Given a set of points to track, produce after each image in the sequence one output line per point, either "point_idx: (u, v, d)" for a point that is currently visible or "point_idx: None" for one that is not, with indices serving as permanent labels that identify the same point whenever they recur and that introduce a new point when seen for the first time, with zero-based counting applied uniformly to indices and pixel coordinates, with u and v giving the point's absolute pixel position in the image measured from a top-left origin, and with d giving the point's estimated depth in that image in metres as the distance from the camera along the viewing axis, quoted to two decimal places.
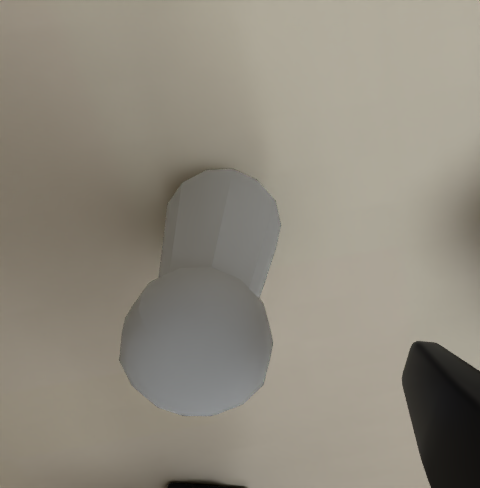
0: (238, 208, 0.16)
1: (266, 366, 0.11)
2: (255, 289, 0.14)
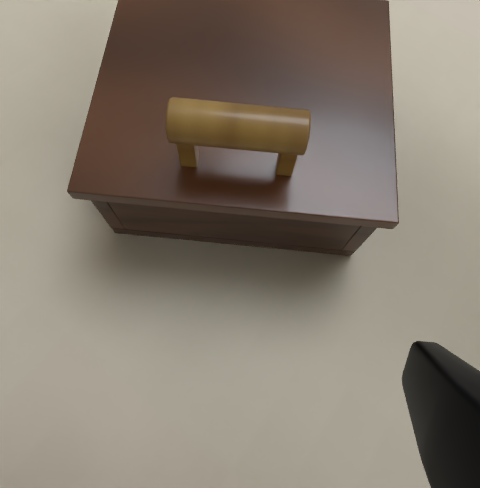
0: None
1: None
2: None
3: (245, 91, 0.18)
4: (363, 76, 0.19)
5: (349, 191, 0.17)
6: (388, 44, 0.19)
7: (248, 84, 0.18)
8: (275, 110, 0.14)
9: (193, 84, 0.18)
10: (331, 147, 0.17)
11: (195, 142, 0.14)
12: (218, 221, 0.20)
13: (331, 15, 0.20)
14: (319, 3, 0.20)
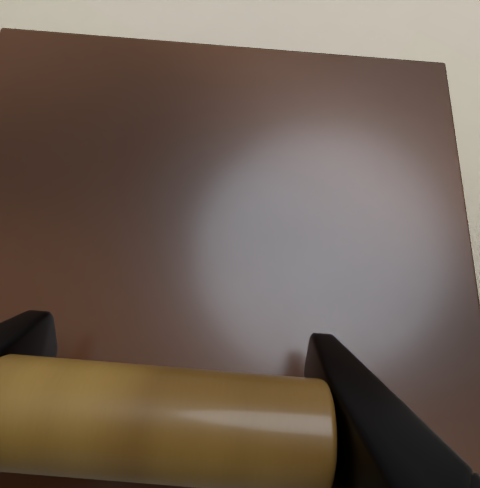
0: None
1: None
2: None
3: (199, 244, 0.10)
4: (414, 208, 0.10)
5: None
6: (452, 143, 0.11)
7: (206, 229, 0.10)
8: (245, 408, 0.05)
9: (103, 232, 0.10)
10: None
11: None
12: None
13: (351, 91, 0.12)
14: (329, 70, 0.12)
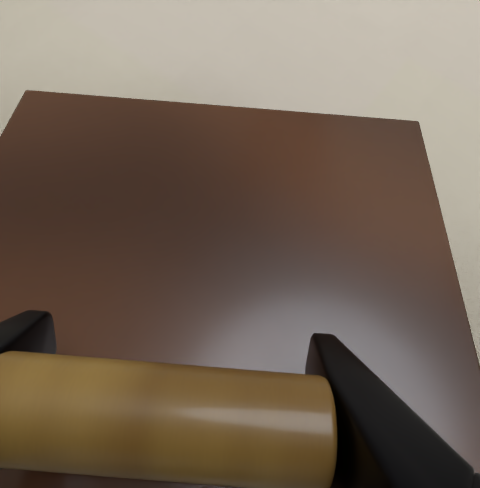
0: None
1: None
2: None
3: (199, 272, 0.10)
4: (401, 241, 0.11)
5: None
6: (430, 186, 0.12)
7: (205, 259, 0.10)
8: (246, 394, 0.06)
9: (107, 262, 0.10)
10: None
11: (46, 471, 0.06)
12: None
13: (336, 143, 0.13)
14: (316, 126, 0.13)
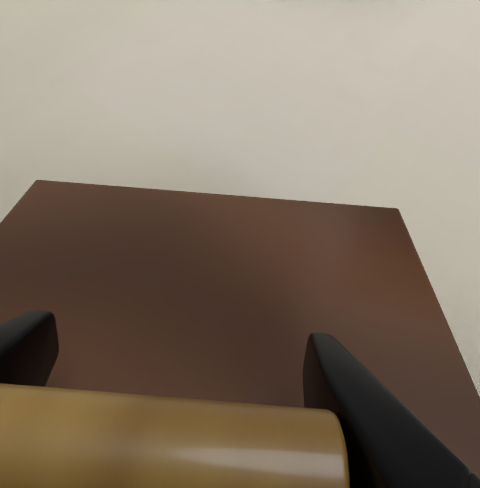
0: None
1: None
2: None
3: (192, 338, 0.10)
4: (395, 310, 0.11)
5: None
6: (417, 261, 0.13)
7: (199, 325, 0.10)
8: (245, 419, 0.05)
9: (98, 327, 0.10)
10: None
11: None
12: None
13: (324, 225, 0.14)
14: (304, 211, 0.14)
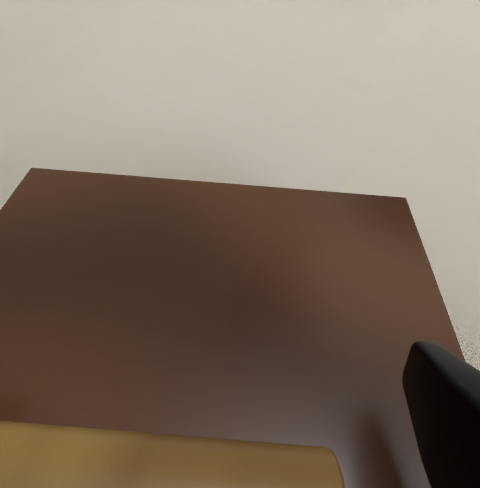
0: None
1: None
2: None
3: (192, 343, 0.10)
4: (399, 310, 0.11)
5: None
6: (423, 257, 0.12)
7: (199, 328, 0.10)
8: (244, 465, 0.05)
9: (97, 331, 0.10)
10: (372, 472, 0.08)
11: None
12: None
13: (329, 216, 0.13)
14: (308, 201, 0.14)
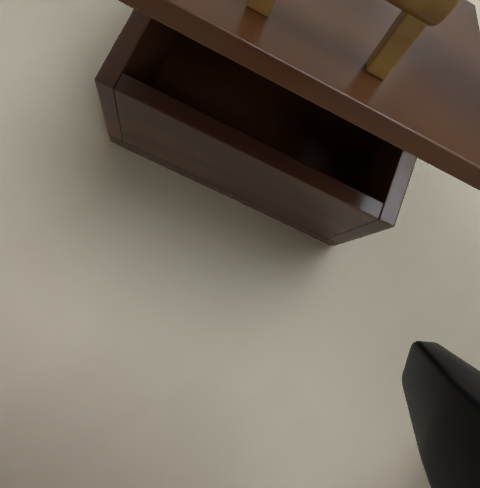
0: None
1: None
2: None
3: None
4: (457, 42, 0.16)
5: (450, 126, 0.12)
6: (477, 32, 0.17)
7: None
8: None
9: None
10: (428, 79, 0.13)
11: None
12: (224, 171, 0.19)
13: None
14: None
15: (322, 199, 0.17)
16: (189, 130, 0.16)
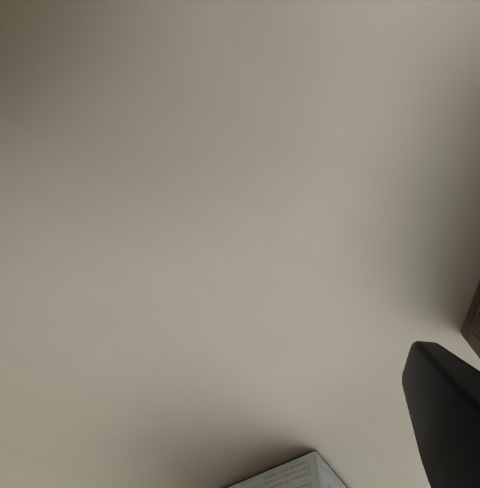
0: None
1: None
2: None
3: None
4: None
5: None
6: None
7: None
8: None
9: None
10: None
11: None
12: None
13: None
14: None
15: None
16: None
